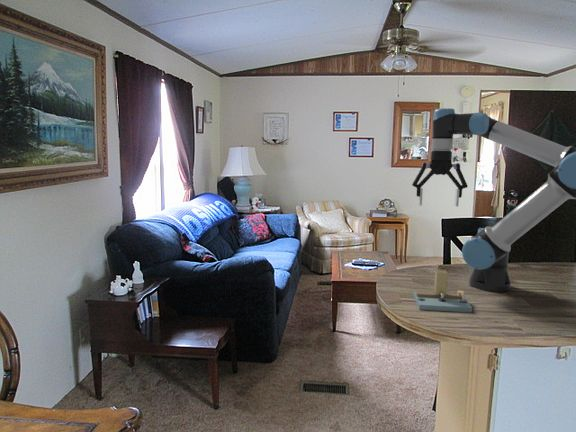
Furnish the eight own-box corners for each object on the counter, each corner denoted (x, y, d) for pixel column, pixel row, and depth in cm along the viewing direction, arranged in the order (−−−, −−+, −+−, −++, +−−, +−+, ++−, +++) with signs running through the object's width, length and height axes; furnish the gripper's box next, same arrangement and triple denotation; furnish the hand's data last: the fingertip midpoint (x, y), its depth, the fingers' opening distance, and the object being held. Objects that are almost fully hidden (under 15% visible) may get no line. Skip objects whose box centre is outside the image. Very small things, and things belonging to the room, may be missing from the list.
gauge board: (461, 298, 166) (462, 287, 165) (471, 312, 152) (472, 300, 151) (413, 296, 168) (413, 285, 167) (419, 309, 154) (419, 297, 153)
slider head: (444, 294, 163) (445, 270, 162) (447, 300, 157) (449, 275, 156) (433, 294, 164) (435, 270, 163) (437, 299, 158) (438, 274, 156)
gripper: (473, 150, 176) (469, 205, 179) (406, 149, 179) (404, 203, 183) (478, 150, 169) (474, 207, 172) (409, 149, 172) (406, 205, 175)
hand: (438, 205), depth 177 cm, fingers open, 13 cm apart
